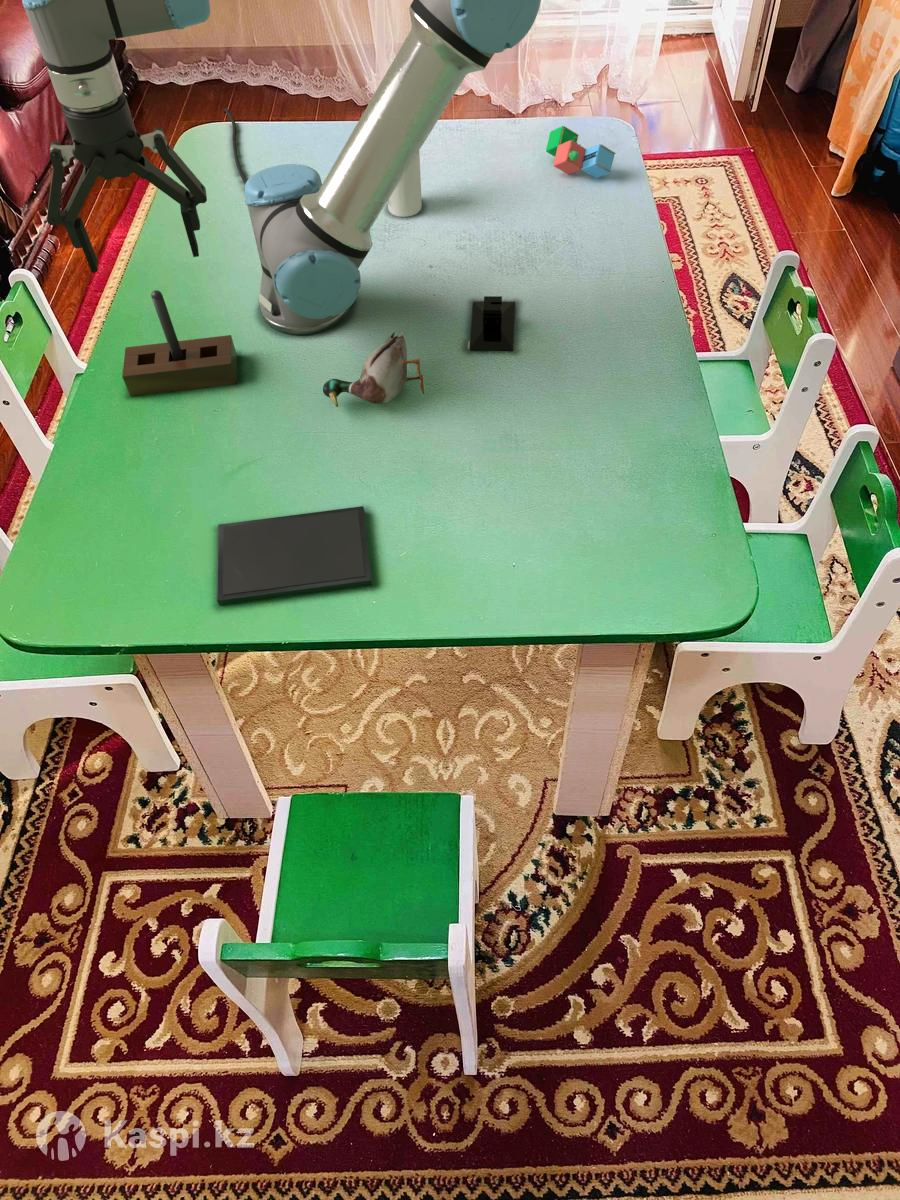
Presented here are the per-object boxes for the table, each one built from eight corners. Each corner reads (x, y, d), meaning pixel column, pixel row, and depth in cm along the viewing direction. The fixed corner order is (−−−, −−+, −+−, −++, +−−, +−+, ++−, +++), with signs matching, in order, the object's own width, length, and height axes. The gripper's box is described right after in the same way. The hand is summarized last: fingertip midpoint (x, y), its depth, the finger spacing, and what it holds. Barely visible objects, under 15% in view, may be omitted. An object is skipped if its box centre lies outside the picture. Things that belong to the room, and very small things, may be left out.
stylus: (179, 372, 146) (149, 288, 134) (189, 371, 146) (161, 287, 134) (179, 379, 145) (149, 295, 133) (189, 378, 146) (160, 293, 133)
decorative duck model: (313, 388, 134) (324, 319, 142) (326, 425, 140) (335, 357, 148) (415, 379, 132) (420, 310, 140) (424, 417, 138) (427, 348, 146)
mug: (416, 194, 174) (412, 131, 164) (427, 213, 170) (423, 149, 160) (365, 206, 172) (358, 143, 163) (375, 225, 169) (368, 161, 159)
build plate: (513, 352, 146) (513, 328, 143) (467, 351, 147) (466, 328, 143) (515, 303, 154) (515, 279, 150) (471, 302, 154) (470, 278, 150)
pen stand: (133, 367, 148) (125, 347, 144) (236, 355, 148) (231, 334, 145) (130, 396, 144) (121, 376, 140) (236, 383, 144) (230, 363, 141)
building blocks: (570, 188, 182) (611, 173, 171) (539, 170, 177) (578, 154, 167) (580, 149, 181) (621, 132, 171) (548, 130, 177) (589, 111, 167)
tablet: (220, 530, 127) (217, 523, 126) (364, 511, 128) (363, 505, 127) (218, 605, 119) (216, 600, 118) (372, 585, 120) (371, 579, 119)
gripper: (-20, 128, 105) (51, 289, 122) (200, 99, 107) (239, 260, 124) (-15, 97, 109) (52, 257, 126) (196, 70, 112) (234, 229, 129)
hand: (145, 259), depth 125 cm, fingers open, 13 cm apart
